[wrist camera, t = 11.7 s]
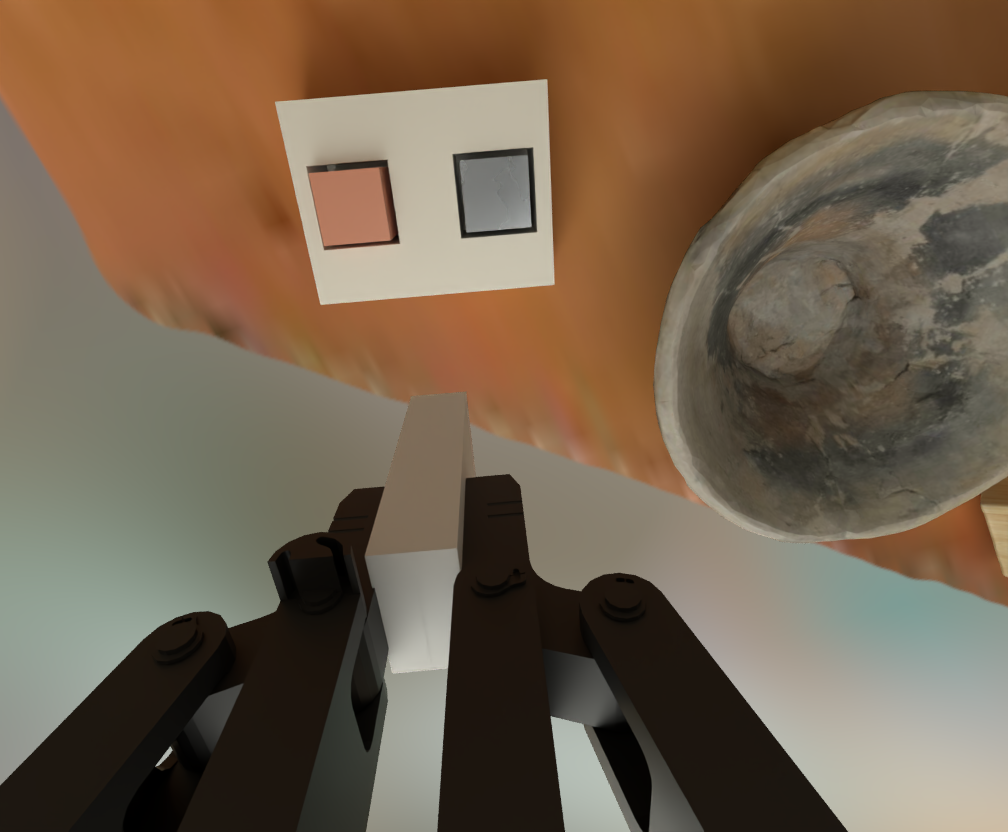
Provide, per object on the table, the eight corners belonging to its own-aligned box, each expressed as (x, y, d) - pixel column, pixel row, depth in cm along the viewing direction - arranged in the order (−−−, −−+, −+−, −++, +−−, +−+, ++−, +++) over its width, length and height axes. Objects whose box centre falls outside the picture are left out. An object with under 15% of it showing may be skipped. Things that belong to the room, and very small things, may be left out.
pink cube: (327, 171, 36) (308, 173, 32) (390, 166, 36) (378, 167, 32) (340, 237, 38) (323, 246, 34) (400, 232, 38) (390, 240, 34)
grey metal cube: (461, 160, 37) (459, 160, 33) (522, 155, 37) (527, 154, 33) (468, 225, 39) (466, 232, 35) (526, 220, 39) (531, 227, 35)
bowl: (602, 131, 38) (670, 114, 25) (973, 93, 38) (1246, 55, 25) (606, 458, 50) (654, 568, 36) (891, 429, 50) (1045, 529, 36)
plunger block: (305, 110, 37) (275, 102, 31) (537, 91, 37) (547, 79, 31) (341, 286, 42) (320, 304, 37) (544, 269, 42) (554, 284, 37)
